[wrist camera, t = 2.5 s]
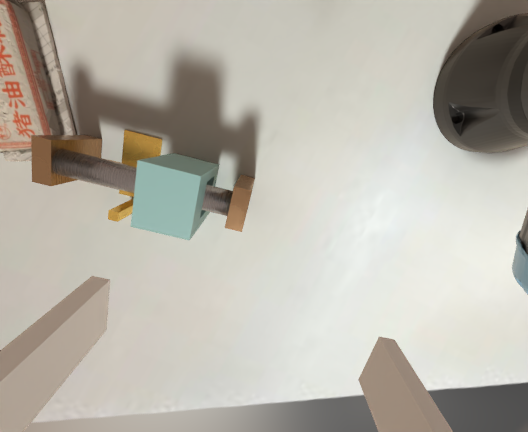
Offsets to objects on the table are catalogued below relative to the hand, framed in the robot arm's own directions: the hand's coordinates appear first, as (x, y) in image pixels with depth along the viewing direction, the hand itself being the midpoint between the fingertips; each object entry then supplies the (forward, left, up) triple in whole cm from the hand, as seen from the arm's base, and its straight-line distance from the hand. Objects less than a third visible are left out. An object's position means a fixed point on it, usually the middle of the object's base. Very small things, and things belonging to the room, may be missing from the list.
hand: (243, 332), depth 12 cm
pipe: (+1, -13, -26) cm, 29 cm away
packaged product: (-7, -32, -27) cm, 43 cm away
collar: (0, -9, -24) cm, 26 cm away
